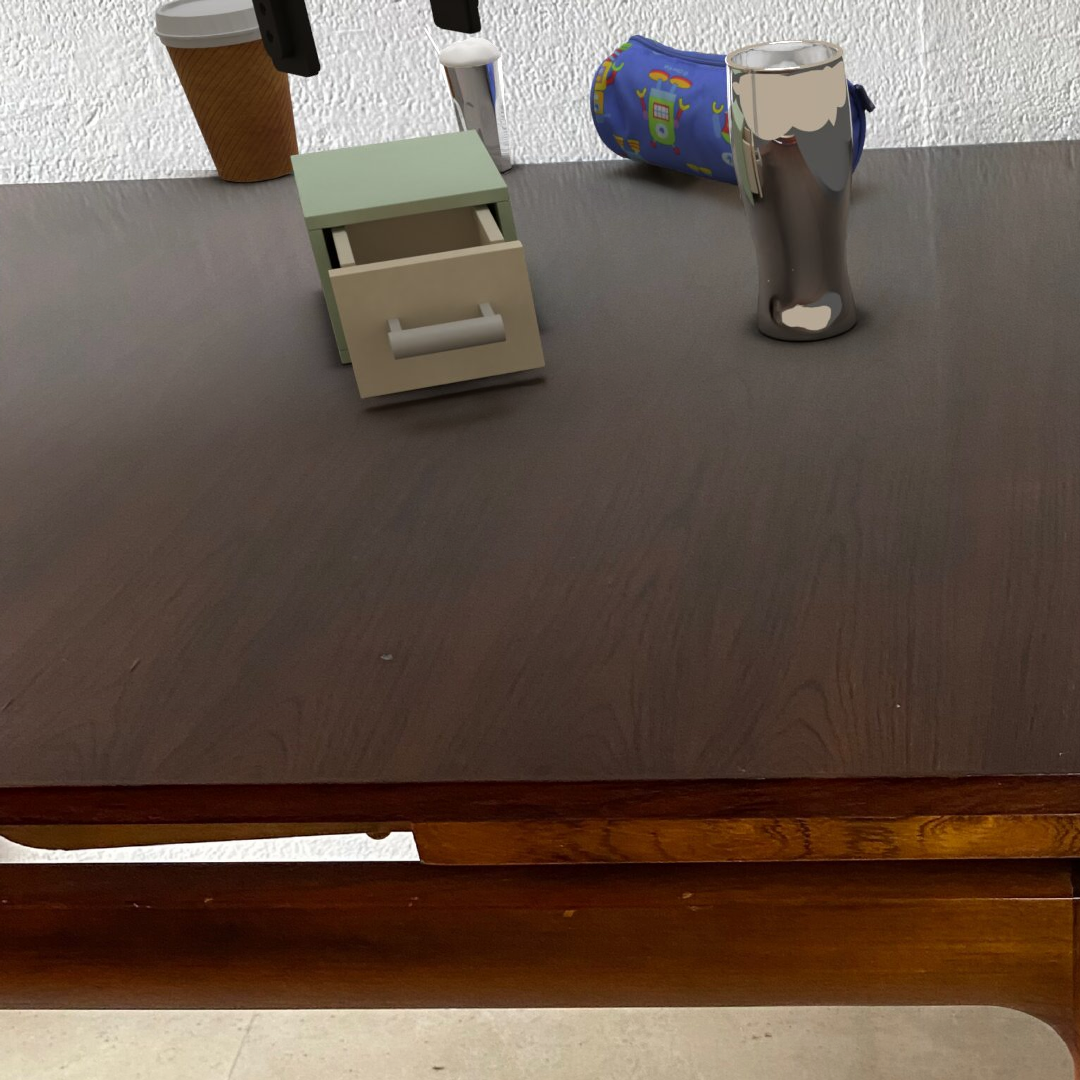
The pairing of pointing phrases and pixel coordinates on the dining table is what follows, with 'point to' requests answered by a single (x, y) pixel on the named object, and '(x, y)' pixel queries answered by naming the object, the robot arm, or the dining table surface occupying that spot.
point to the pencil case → (678, 109)
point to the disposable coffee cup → (231, 86)
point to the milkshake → (478, 93)
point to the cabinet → (393, 192)
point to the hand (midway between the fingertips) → (381, 50)
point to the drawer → (433, 300)
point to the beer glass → (795, 181)
